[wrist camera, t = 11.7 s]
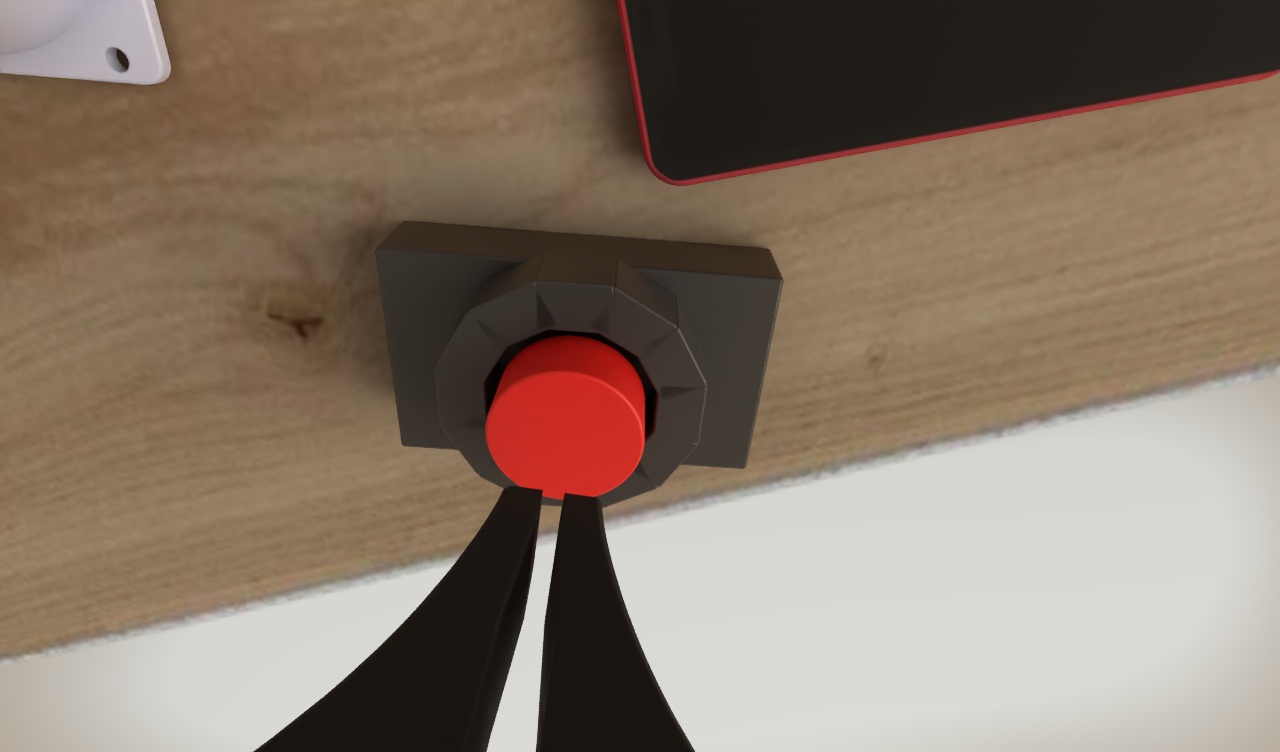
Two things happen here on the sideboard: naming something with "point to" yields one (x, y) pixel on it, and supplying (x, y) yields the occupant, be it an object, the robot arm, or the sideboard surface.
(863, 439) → the sideboard surface
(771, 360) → the sideboard surface
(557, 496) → the light button
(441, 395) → the light switch
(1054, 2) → the smartphone
